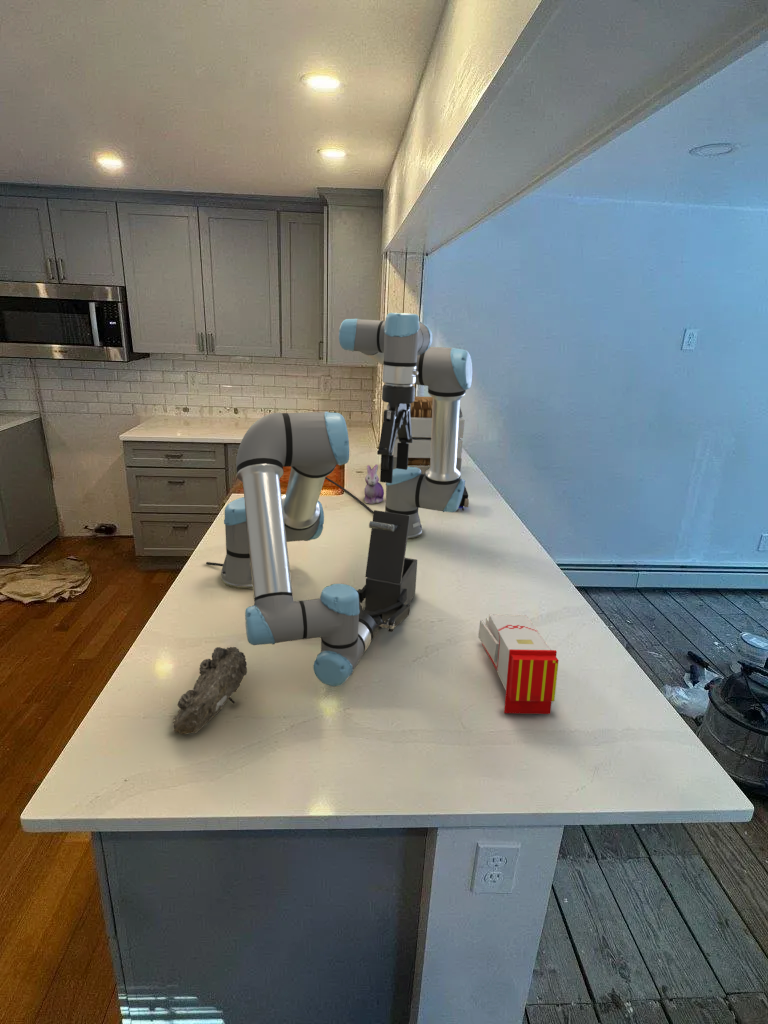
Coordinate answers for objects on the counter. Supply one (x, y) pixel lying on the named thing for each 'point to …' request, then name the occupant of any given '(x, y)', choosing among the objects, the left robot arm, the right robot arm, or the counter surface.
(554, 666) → the toy
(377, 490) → the figurine
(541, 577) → the counter surface
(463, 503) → the figurine character
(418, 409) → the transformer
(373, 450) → the counter surface
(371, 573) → the lid
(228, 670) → the fossil
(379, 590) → the chest
